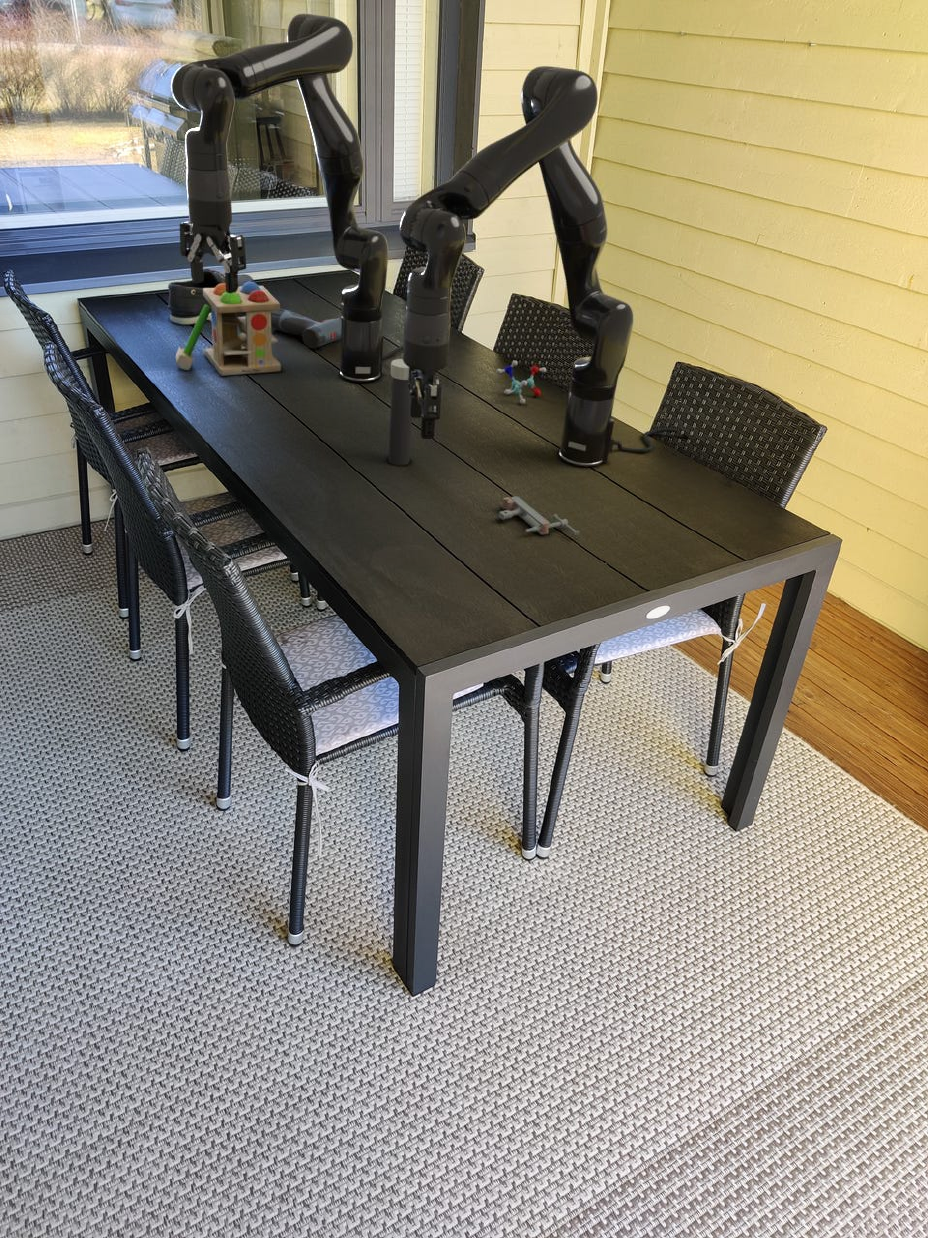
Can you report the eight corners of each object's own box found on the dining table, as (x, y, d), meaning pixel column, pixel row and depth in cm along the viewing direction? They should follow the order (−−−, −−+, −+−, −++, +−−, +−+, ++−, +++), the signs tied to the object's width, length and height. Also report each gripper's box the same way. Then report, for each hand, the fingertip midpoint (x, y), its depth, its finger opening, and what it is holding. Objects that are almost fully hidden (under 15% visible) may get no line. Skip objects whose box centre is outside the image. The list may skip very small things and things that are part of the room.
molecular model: (542, 396, 221) (528, 352, 219) (504, 410, 224) (490, 367, 223) (554, 394, 231) (541, 353, 230) (517, 407, 235) (504, 367, 233)
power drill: (305, 316, 264) (364, 334, 256) (257, 332, 251) (318, 351, 243) (305, 296, 261) (365, 314, 253) (257, 311, 248) (318, 330, 240)
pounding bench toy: (183, 379, 220) (176, 299, 210) (169, 357, 231) (162, 280, 221) (282, 371, 230) (280, 294, 220) (264, 350, 240) (262, 276, 230)
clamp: (489, 500, 180) (534, 491, 184) (488, 510, 181) (533, 501, 185) (534, 538, 169) (581, 528, 174) (532, 549, 170) (579, 539, 175)
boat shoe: (275, 303, 273) (273, 264, 267) (188, 326, 249) (184, 284, 244) (241, 294, 279) (238, 256, 273) (152, 317, 255) (147, 276, 249)
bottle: (386, 456, 197) (390, 361, 186) (407, 455, 198) (412, 361, 187) (390, 465, 193) (395, 369, 182) (411, 464, 194) (417, 369, 183)
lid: (388, 370, 187) (388, 358, 186) (413, 370, 188) (413, 358, 187) (393, 380, 183) (393, 367, 182) (418, 379, 184) (419, 367, 183)
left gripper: (254, 199, 174) (257, 291, 183) (196, 184, 180) (201, 275, 189) (223, 204, 168) (228, 300, 177) (164, 189, 174) (172, 282, 183)
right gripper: (459, 351, 155) (452, 444, 165) (439, 320, 166) (433, 409, 176) (413, 352, 153) (408, 446, 163) (395, 320, 164) (392, 410, 174)
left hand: (214, 287), depth 183 cm, fingers open, 8 cm apart
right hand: (421, 427), depth 169 cm, fingers open, 8 cm apart
